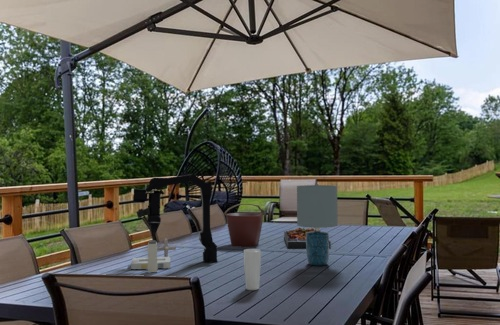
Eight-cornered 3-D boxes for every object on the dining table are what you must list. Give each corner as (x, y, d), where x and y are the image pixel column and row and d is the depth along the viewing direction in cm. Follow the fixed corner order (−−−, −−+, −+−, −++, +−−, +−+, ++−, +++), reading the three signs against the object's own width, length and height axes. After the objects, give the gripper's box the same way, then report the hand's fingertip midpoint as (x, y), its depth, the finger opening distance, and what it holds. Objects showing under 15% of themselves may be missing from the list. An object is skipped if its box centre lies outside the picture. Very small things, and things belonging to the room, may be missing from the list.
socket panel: (170, 262, 242) (170, 256, 242) (170, 268, 228) (170, 262, 228) (133, 264, 239) (133, 258, 239) (130, 270, 225) (130, 263, 225)
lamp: (290, 262, 240) (290, 185, 240) (325, 259, 246) (324, 184, 247) (309, 269, 222) (308, 187, 222) (345, 266, 228) (344, 186, 229)
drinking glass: (260, 286, 191) (260, 248, 192) (261, 291, 185) (261, 251, 185) (243, 287, 191) (243, 248, 191) (243, 291, 184) (243, 251, 185)
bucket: (266, 242, 305) (265, 202, 305) (263, 248, 283) (263, 205, 283) (227, 242, 307) (227, 202, 307) (221, 247, 285) (221, 205, 285)
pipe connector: (157, 260, 248) (157, 240, 248) (155, 256, 258) (155, 238, 258) (176, 259, 251) (176, 239, 251) (174, 255, 260) (174, 237, 260)
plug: (157, 270, 223) (156, 240, 223) (157, 272, 219) (156, 241, 219) (148, 271, 222) (148, 240, 222) (147, 273, 218) (147, 241, 219)
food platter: (330, 249, 280) (330, 231, 281) (287, 249, 281) (287, 231, 281) (320, 237, 325) (320, 222, 326) (284, 238, 326) (284, 222, 326)
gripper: (138, 201, 246) (136, 232, 246) (137, 204, 228) (136, 237, 228) (160, 202, 249) (159, 232, 248) (161, 204, 230) (160, 237, 230)
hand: (153, 234), depth 239 cm, fingers open, 9 cm apart
